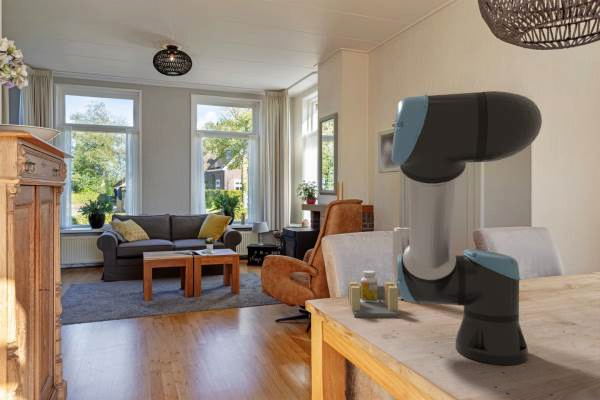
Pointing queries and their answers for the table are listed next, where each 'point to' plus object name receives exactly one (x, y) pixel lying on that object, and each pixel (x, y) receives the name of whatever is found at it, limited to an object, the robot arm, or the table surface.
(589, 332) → the table surface
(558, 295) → the table surface
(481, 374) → the table surface
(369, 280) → the supplement bottle
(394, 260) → the chrome rod
